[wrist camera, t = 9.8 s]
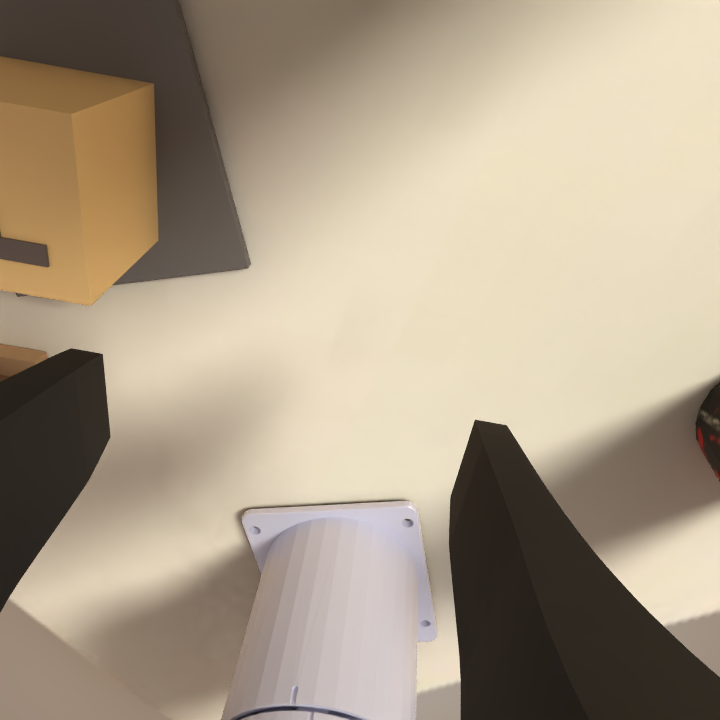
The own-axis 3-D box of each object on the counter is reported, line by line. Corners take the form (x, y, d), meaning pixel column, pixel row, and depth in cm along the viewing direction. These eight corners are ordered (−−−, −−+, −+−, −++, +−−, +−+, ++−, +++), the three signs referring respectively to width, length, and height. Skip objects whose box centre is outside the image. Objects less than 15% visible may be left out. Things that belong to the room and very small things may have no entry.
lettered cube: (158, 243, 21) (89, 310, 17) (15, 217, 21) (-92, 278, 17) (154, 83, 18) (69, 115, 14) (-11, 54, 18) (-147, 76, 14)
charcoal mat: (250, 263, 21) (247, 268, 21) (23, 292, 23) (17, 296, 23) (168, -37, 17) (162, -38, 17) (-110, 22, 18) (-120, 23, 18)
